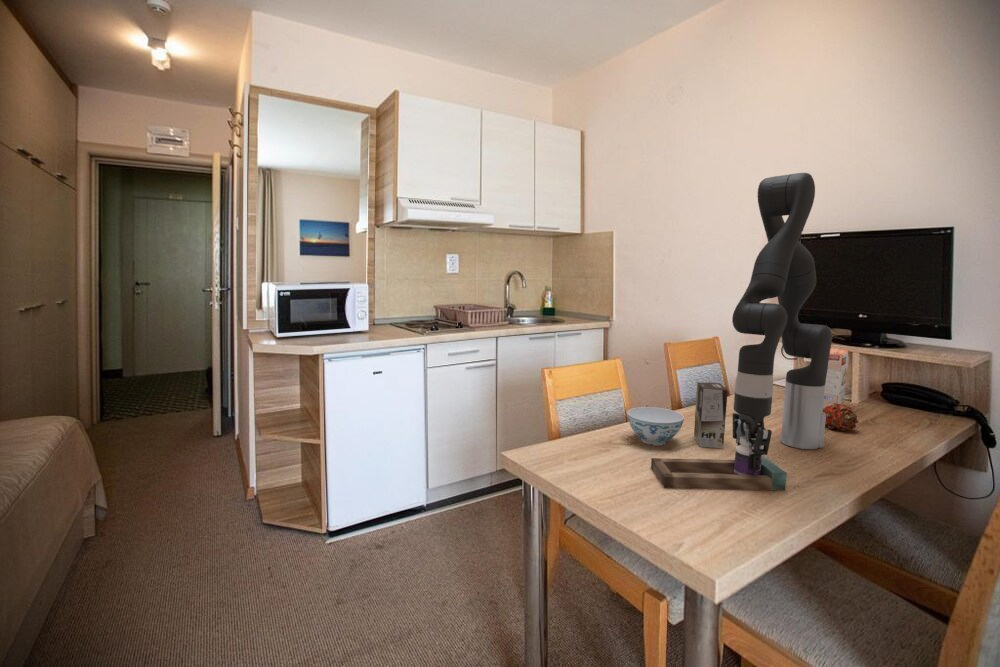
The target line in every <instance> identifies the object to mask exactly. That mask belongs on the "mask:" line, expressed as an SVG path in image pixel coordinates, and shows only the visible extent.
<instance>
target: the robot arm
mask: <svg viewBox="0 0 1000 667" xmlns="http://www.w3.org/2000/svg"><path fill="white" fill-rule="evenodd" d="M757 188H758V189H757V203H758V208H759V213H760V217H761V221H762V224H763V227H764V231H765V235H766V238H767V243H766V244H765V245H764V246H763V247H762V248H761V250H760V251H759V253H758V255H757V257H756V259H755V261H754V264H753V269H752V272H751V277H750V281H749V283H748V286H747V288H746V289H745V292H744V293H743V295H742V297H741V299H739V302H738V303H737V304H736V306H735V308H734V311H733V314H732V319H731V320H732V322H731V323H732V326H733V328H734V329H735V331H737V332H738V333H739V334H745V335H754V336H755V335H756V336H764V338H763V341H762V342H761V343H757V344H754V343H753V344H746V345H742V346H741V347H740V348H739V351H738V352H739V353H738V364H737V372H736V378H735V383H734V384H735V385H734V397H733V411H734V412H735V413H732V439H734V440H735V442H736V443H735V444H737V446H738V445H741V444H740V437H741V436H746V442H747V443H748V444H749V451H750V454H749V465H748V469H749V470H751V471H759V470H760V460H761V455H763V456H767V455H768V453H769V448H770V443H771V439H772V434H773V433H772V432H773V431H772V430H771V429H766V428H765V421H764V420H765V418H766V417H768V416H770V415H771V413H772V406H773V405H772V403H773V392H774V377H773V376H774V365H775V356H776V352H777V348H778V345H779V342H780V340H781V343H782V348H783V351H784V352H785V354H786V355H787V356H790V357H795V358H801V359H809V360H810V362H809V364H808V365H807V366H804V367H800V368H794V369H790V370H787V371H786V375H785V386H784V387H785V388H784V399H783V408H782V421H781V422H782V423H781V432H780V433H781V434H780V442H781V443H782V444H784V445H786V446H789V447H792V448H796V449H802V450H816V449H820V448H824V441H825V440H824V439H825V432H826V430H825V429H826V423H825V422H826V413H824V412H823V404H824V393H825V383H826V376H827V370H828V361H829V355H830V349H831V348H832V343H833V342H832V341H833V334H832V330H831V328H830V327H829V326H827V325H824V324H813V323H812V324H811V323H801V322H800V321H799V313H800V310H801V309H802V307H803V305H804V304H805V303H806V301H807V300H808V299H809V297H810V296H811V295H812V293H813V292H814V290H815V288H816V285H817V280H818V279H817V273H816V265H815V259H814V257H813V254H811V252H810V251H809V250H808V249H807V248H806V247H805V245H804V244H803V243H801V241H800V238H801V236H802V233H803V231H804V228H805V227H806V223H807V221H808V219H809V217H810V214H811V211H812V208H813V206H814V202H815V196H816V184H815V180H814V178H813V176H812V175H811V174H810V173H808V172H796V173H791V174H784V175H776V176H770V177H766V178H764V179H762V180H761V181H760V182H759V185H758V187H757ZM784 216H788V217H787V219H786V221H785V220H784V218H783V217H784ZM773 298H777V302H778V303H769V302H768V303H767V302H762V301H765V300H768V299H773ZM751 438H756V440H752V439H751ZM753 444H755V446H754V445H753ZM737 446H736V447H737Z"/></svg>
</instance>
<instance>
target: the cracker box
mask: <svg viewBox="0 0 1000 667" xmlns="http://www.w3.org/2000/svg"><path fill="white" fill-rule="evenodd" d="M849 360H850V350H849V349H844V348H842V349H841V348H833V347H831V349H830V355H829V361H828V370H827V376H826V383H825V393H824V404H823V408H825V407H826V406H831V405H834V404H833V403H837V404H841V405H842V404H845V402H844V400H845V394H846V386H847V378H848V377H847V376H848V369H849Z"/></svg>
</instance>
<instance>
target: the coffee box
mask: <svg viewBox="0 0 1000 667" xmlns="http://www.w3.org/2000/svg"><path fill="white" fill-rule="evenodd" d="M728 390H729V389H727V388H726V387H725V386H724V385H722V383H720V382H699V381H698V382H696V391H695V392H696V394H695V395H696V396H695V409H694V410H695V414H694V430H693V431H694V433H693V437H694V439H695V441H696V443H697V444H698V446H699V447H700V448H701V447H702V448H712V449H713V448H714V449H724V445H725V443H724V442H725V432H726V431H725V430H726V429H725V428H726V417H727V406H728V405H727V404H728V393H729V391H728Z"/></svg>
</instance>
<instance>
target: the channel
mask: <svg viewBox="0 0 1000 667" xmlns="http://www.w3.org/2000/svg"><path fill="white" fill-rule="evenodd" d="M650 460H651V462H650V469H651V470H652V472H653V473H654V474H655V476H656V478H657V479H658V480H659V482H660V484H661V485H662V486H663V488H664V489H698V490H699V489H700V490H701V489H703V490H737V491H738V490H743V491H744V490H745V489H747V490H748V491H752V490H753V491H754V490H755V491H784V490H785V491H786V486H787V478H788V477H787V476H788V473H787V472H786V471H785V470H783V469H782V468H781V467H779V466H778V465H777V464H775V463H774V462H773V461H772V460H771V459H769V458H767V457H766V455H762V461H761V472H760V475H734V465H735V459H717V458H716V459H711V458H710V459H709V458H708V459H707V458H706V459H705V458H666V457H665V458H661V457H659V458H656V457H655V458H654V457H652V458H651V459H650ZM745 491H746V490H745Z"/></svg>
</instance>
